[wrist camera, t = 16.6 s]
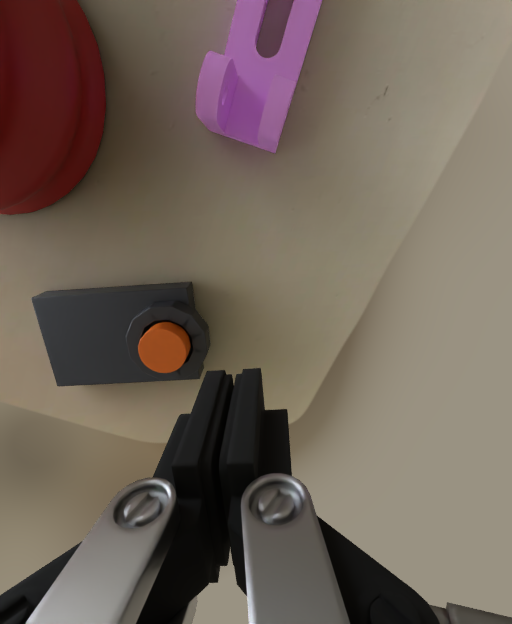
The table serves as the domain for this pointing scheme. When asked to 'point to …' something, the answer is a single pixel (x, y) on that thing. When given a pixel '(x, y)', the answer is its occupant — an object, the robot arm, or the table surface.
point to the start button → (164, 347)
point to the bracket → (254, 76)
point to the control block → (116, 331)
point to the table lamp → (47, 101)
